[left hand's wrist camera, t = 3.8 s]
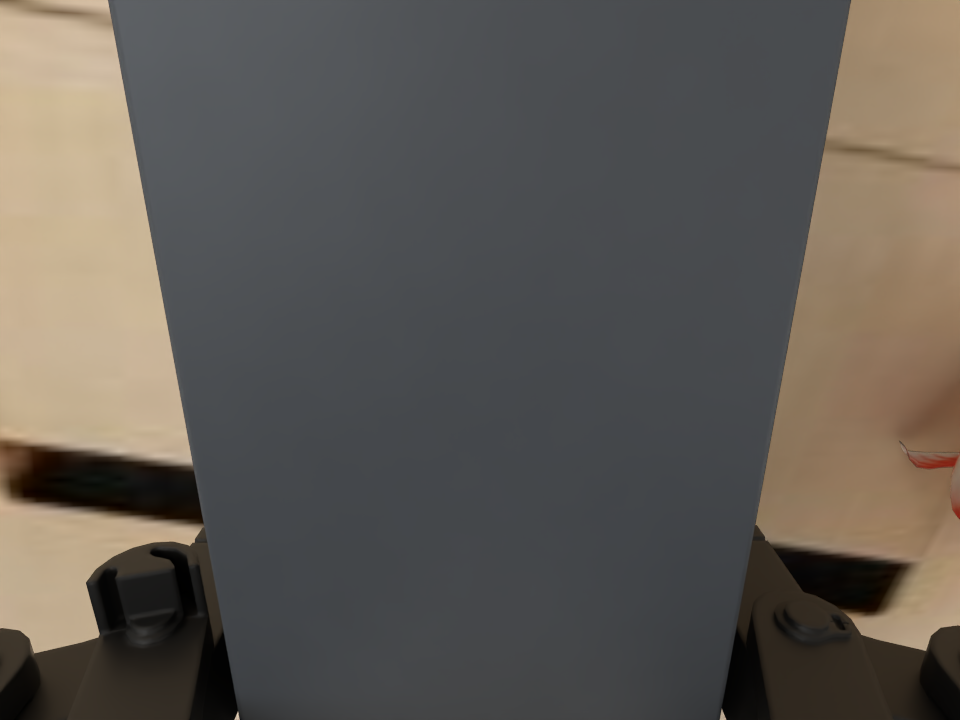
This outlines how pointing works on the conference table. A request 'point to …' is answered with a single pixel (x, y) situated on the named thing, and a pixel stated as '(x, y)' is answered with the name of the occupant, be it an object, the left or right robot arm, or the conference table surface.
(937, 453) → the fish
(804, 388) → the conference table surface
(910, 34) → the conference table surface
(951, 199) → the conference table surface
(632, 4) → the bar
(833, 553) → the conference table surface
